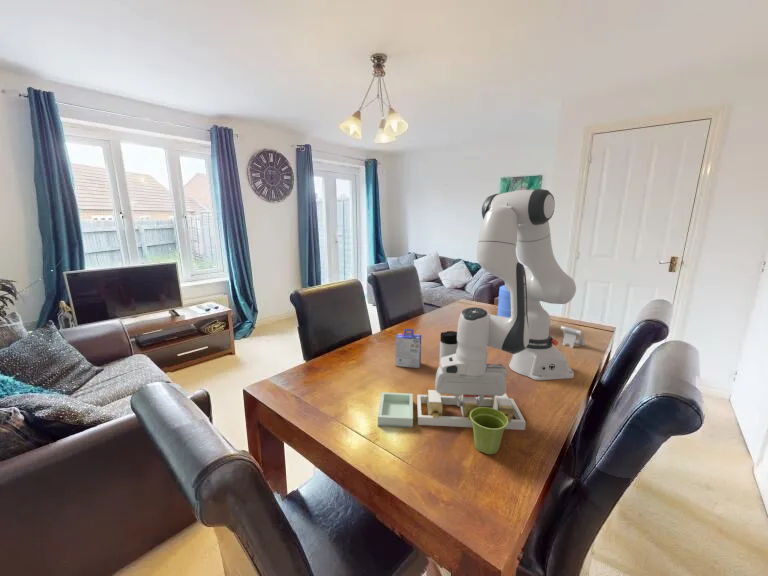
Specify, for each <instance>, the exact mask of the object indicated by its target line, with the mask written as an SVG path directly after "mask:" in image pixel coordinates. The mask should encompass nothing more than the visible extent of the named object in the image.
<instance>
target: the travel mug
mask: <svg viewBox="0 0 768 576" xmlns="http://www.w3.org/2000/svg"><path fill="white" fill-rule="evenodd" d="M439 340H440V341H439V360H438V361H439V364H438V368H439V367H440V359H441V358H442V357H445V356H449V355H452V354H455V353H456V350H457V347H458V342H457V331H453V330H448V331H443V332H440V338H439Z"/></svg>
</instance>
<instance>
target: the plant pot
mask: <svg viewBox="0 0 768 576" xmlns="http://www.w3.org/2000/svg"><path fill="white" fill-rule="evenodd" d="M470 419H471V421H472V424H473V427H472V430H473V441H474V443H473V444H474V447H475V448H476V450H478V452H482V453H484V454H485V455H486V454H487V455H495V454H497V453H498V451H499V450H500V448H501V447H500V446H501V442H502V439H503V435H504V431H505V430H506V429H505V427H506V426H507V425H508V418H507V417H506V416H505V414H503V413H502V412H501V411H499V410H496V409H493V408H491V407H490V406H480V407H478V408H475V409H473V410H472V411H471V412H470Z"/></svg>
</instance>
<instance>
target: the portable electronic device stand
mask: <svg viewBox="0 0 768 576" xmlns="http://www.w3.org/2000/svg"><path fill="white" fill-rule="evenodd" d="M560 331H562V334H563V340H562V343H561V344H562V345H561V346H564V347H565V346H566V345H567V344H568V345H569V348H570V349H573V348H574V346H575V344H576V345H580V346H583V347H585V345H586V340H584V331H583V330H579V329H577V328H572V327H569V326H565V325H561V326H560ZM577 337H578V339H577Z"/></svg>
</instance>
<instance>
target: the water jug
mask: <svg viewBox="0 0 768 576" xmlns="http://www.w3.org/2000/svg"><path fill="white" fill-rule="evenodd" d="M497 302H498V304H497V314H496V315H497V316H502V317H507V318H509V317H511V297H510V292H509V291H508V290H507V289H506V286H505V284H504V285H501V286H499V291H498V301H497Z"/></svg>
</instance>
